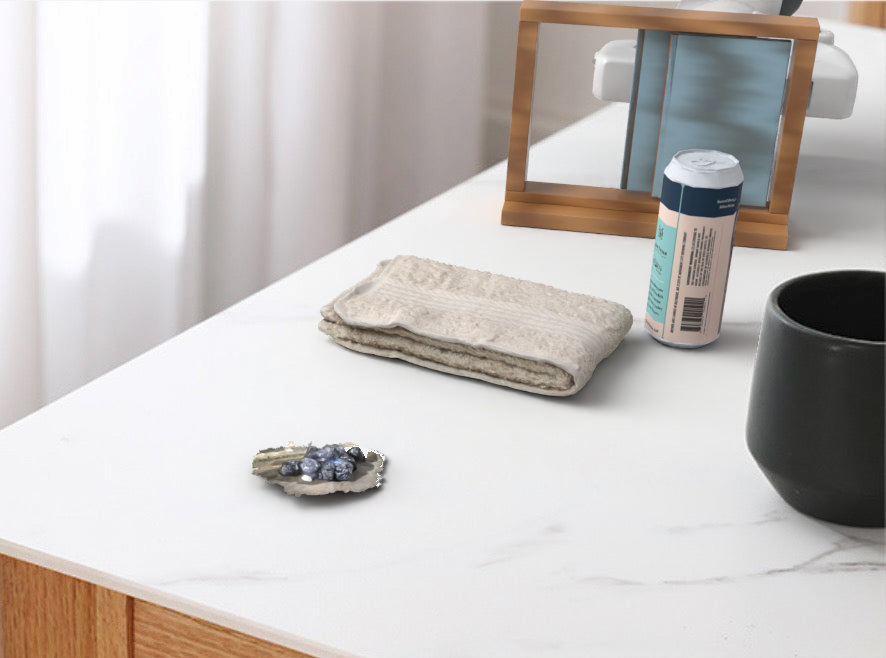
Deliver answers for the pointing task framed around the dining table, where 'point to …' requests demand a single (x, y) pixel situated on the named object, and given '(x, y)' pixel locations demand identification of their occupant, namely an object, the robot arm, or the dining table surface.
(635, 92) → the window sash
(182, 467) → the dining table surface
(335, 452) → the blueberries
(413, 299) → the washcloth
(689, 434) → the dining table surface
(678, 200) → the beer can
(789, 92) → the window frame
